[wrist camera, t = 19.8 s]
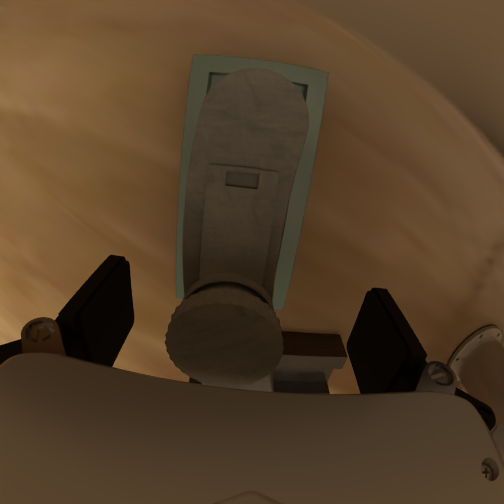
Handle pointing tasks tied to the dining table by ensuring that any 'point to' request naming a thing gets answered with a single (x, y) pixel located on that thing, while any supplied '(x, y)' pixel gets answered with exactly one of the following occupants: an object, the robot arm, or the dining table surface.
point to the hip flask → (237, 229)
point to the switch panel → (306, 363)
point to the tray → (313, 91)
